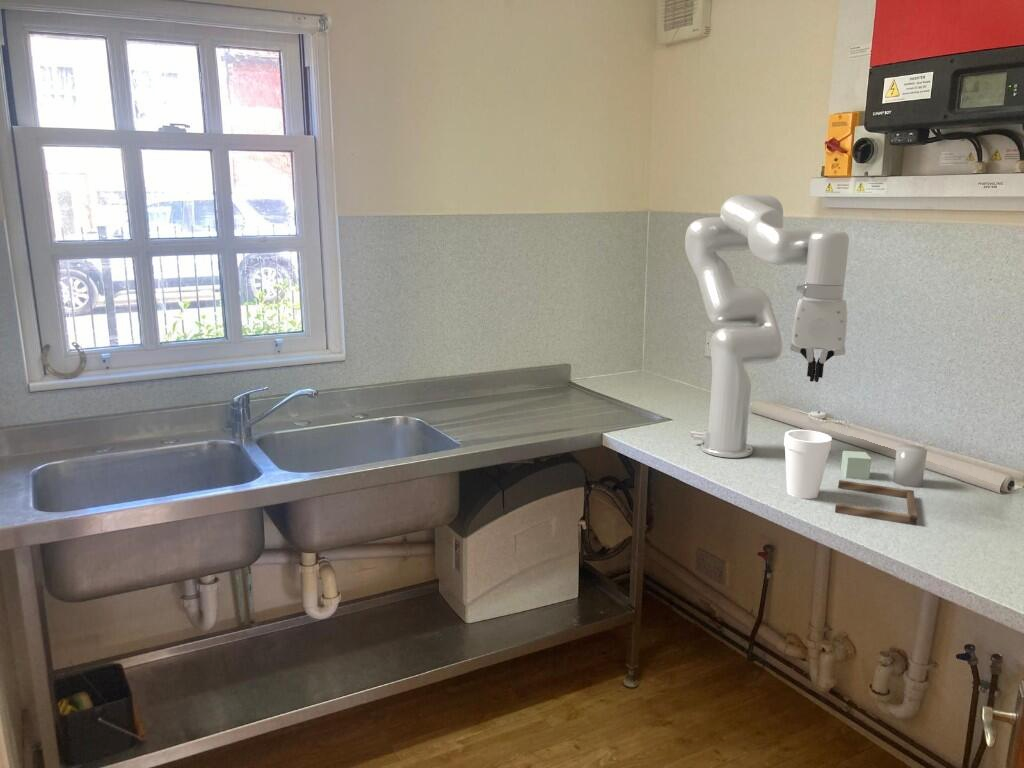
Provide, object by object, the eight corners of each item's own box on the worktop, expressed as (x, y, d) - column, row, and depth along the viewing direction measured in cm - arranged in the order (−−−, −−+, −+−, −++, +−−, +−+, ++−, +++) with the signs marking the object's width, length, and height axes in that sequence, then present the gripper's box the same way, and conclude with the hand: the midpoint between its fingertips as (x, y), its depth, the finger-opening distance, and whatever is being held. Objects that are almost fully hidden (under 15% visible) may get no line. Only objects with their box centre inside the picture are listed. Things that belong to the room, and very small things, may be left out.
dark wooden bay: (834, 512, 159) (835, 505, 158) (838, 486, 173) (839, 479, 173) (916, 525, 153) (917, 517, 152) (912, 497, 167) (913, 490, 167)
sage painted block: (845, 478, 179) (848, 457, 177) (840, 471, 183) (842, 450, 182) (868, 479, 178) (871, 458, 177) (863, 472, 183) (865, 452, 181)
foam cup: (796, 503, 163) (802, 444, 160) (770, 488, 172) (775, 431, 169) (835, 499, 166) (841, 440, 163) (807, 484, 174) (813, 428, 171)
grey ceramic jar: (893, 484, 175) (897, 450, 173) (892, 476, 180) (896, 443, 178) (923, 488, 172) (927, 454, 170) (921, 480, 178) (926, 446, 176)
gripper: (782, 292, 158) (774, 380, 163) (863, 296, 152) (852, 388, 156) (786, 288, 165) (778, 373, 169) (863, 293, 159) (853, 380, 163)
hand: (814, 380), depth 163 cm, fingers closed
